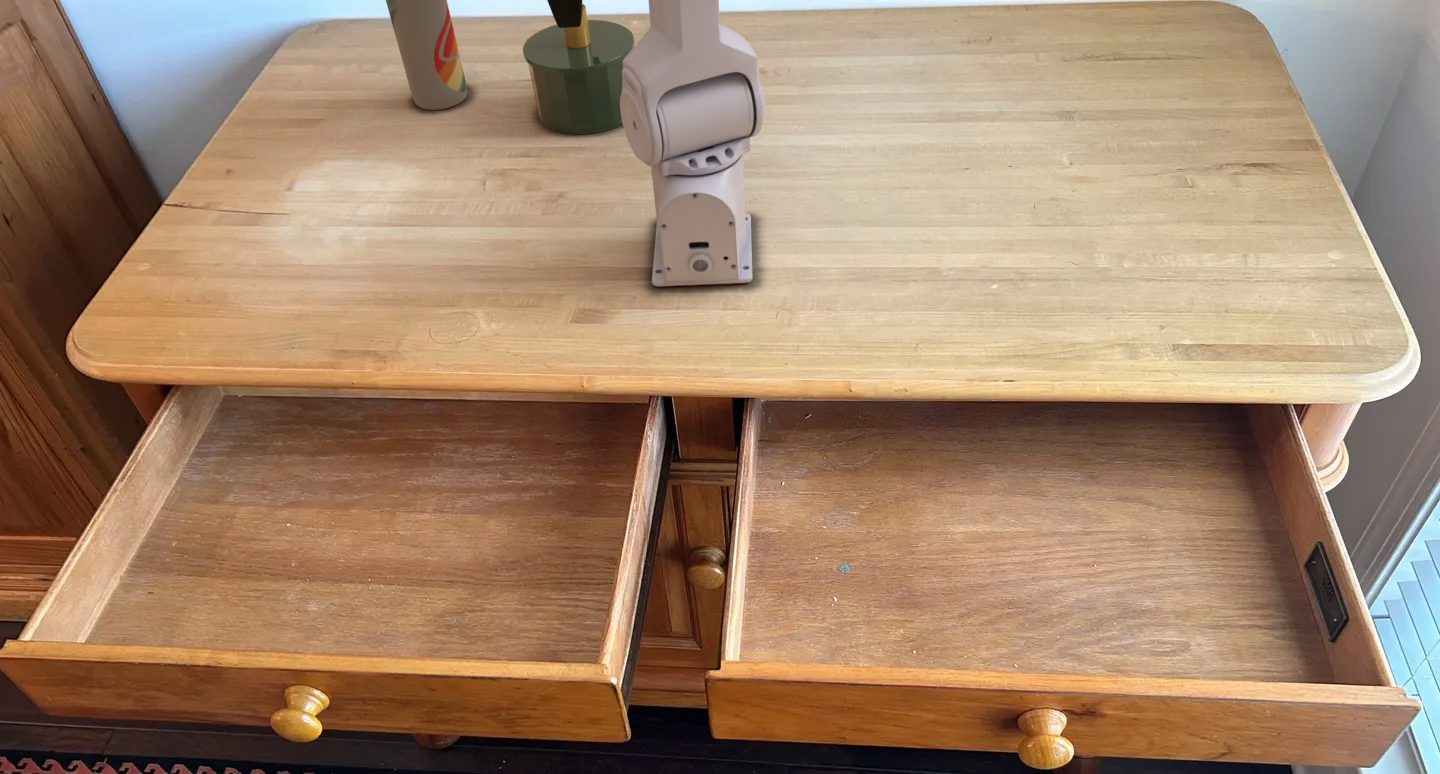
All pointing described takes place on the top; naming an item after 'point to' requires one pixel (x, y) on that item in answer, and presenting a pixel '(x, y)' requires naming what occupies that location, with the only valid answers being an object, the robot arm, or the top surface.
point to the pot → (579, 99)
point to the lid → (578, 46)
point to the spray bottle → (429, 52)
